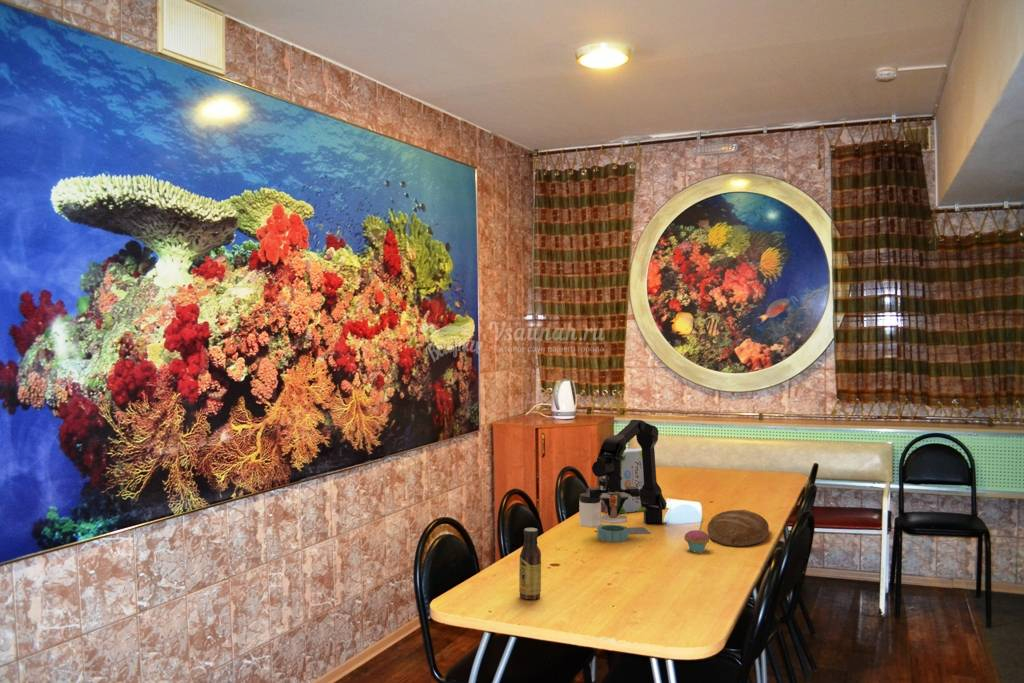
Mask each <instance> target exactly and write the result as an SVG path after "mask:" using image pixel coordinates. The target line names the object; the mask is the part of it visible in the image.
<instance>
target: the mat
mask: <svg viewBox="0 0 1024 683" xmlns="http://www.w3.org/2000/svg"><path fill="white" fill-rule="evenodd" d="M628 528H629V535H649V534H652V532H650V531H649V530H648V529H646V528H645V527H644V526H637V527H636V526H635V527H633V526H632V527H628Z"/></svg>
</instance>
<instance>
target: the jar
mask: <svg viewBox="0 0 1024 683" xmlns="http://www.w3.org/2000/svg"><path fill="white" fill-rule="evenodd" d="M578 501H579V505H578V506H579V507H578V510H579V511H578V517H579V518H578V523H579V526H581V527H587V528H595V527H596V528H597V527H599V526H602V522H601V521H600V520H599V517H600V516H601V515H602V511H601V499H600V498H590V497H588V496H587V492H583V493H580V494H579V500H578Z"/></svg>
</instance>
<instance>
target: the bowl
mask: <svg viewBox="0 0 1024 683" xmlns="http://www.w3.org/2000/svg"><path fill="white" fill-rule="evenodd" d="M629 528H630V527H628V526H625V525H622V524H621V525H620V524H603V525H602V524H601V526H596V536H597V539H598V540H599V541H602V542H608V543H622V542H626V541H628V540H629V537H630V534H629Z"/></svg>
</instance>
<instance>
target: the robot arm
mask: <svg viewBox="0 0 1024 683" xmlns="http://www.w3.org/2000/svg"><path fill="white" fill-rule="evenodd" d="M634 437H635V438H636V442H637V444H638V445H639V446H640V448H642V461H643V476H644V485H643V486H642V488H641V489H640V490H639V489H638V488H637V487H635V486H634V487H626V489H622V488H621V480H622V477H621V460H623V459H624V457H623V456H622V454H623V452H624V451H625V450H626V449H627V444H628V443H630V441H631V440H632V439H634ZM658 441H659V429H658V427H656V425H654V424H653V425H652V424H649V423H647V422H646V421H644V420H643V419H630V421H629V423H628V424H626V426H625V427H623V428H622V429H621V430H620V431H619V432H618V433H617V434H615V435H610V436H608V437H606V438H605V439H604V440H603V442H602V444H601V446H600V449H599V452H598V455H597V457H596V461H594V462H593V464H592V466H591V471H592V474H593V475H594V476H595V477H597V484H596V485H597V486H596V487H593V486H591V487H587V488H586V493H587V496H588V497H590V498H600V499H601V500H603V502H604V504H605V507H606V510H607V513H608V516H610V499H609V498H608V495H617V516H618V515H620V514H619V513H620V510H621V508H622V506H623V504H624V502H625V500H626V499H628V497H627V495H628V494H630V495H631V496H632V497H640V501H641V507H645V511H643V522H644V523H645V524H646V525H647V526H654V525H657V526H659V525H664V522H663V510H664V511H665V510H666V508H667V501H666V500H665V498H664V496H663V493H662V488H661V486H660V485H659V484H658V481H657V469H656V454H655V453H656V452H655V446H656V445H657V443H658ZM605 453H606V454H605ZM602 476H605V479H603V477H602ZM601 486H602V487H603V489H605V490H601V488H599V487H601ZM601 500H600V501H601ZM607 513H606V514H607Z"/></svg>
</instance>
